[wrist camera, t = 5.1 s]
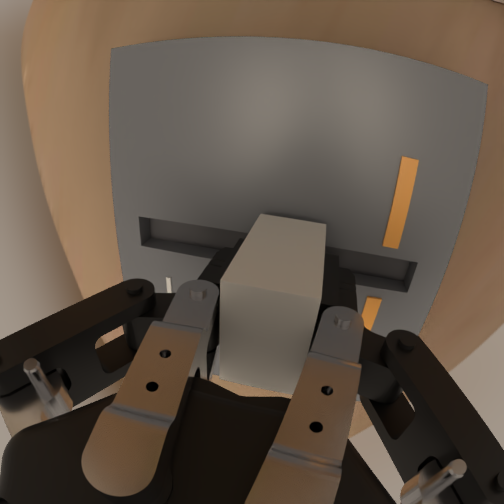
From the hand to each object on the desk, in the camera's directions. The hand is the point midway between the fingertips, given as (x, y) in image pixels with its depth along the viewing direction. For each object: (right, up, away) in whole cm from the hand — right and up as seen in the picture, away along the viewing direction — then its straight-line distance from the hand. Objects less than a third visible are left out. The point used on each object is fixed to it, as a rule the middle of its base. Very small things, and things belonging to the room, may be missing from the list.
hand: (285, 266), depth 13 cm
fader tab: (0, +1, +1) cm, 2 cm away
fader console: (0, +2, +3) cm, 4 cm away
